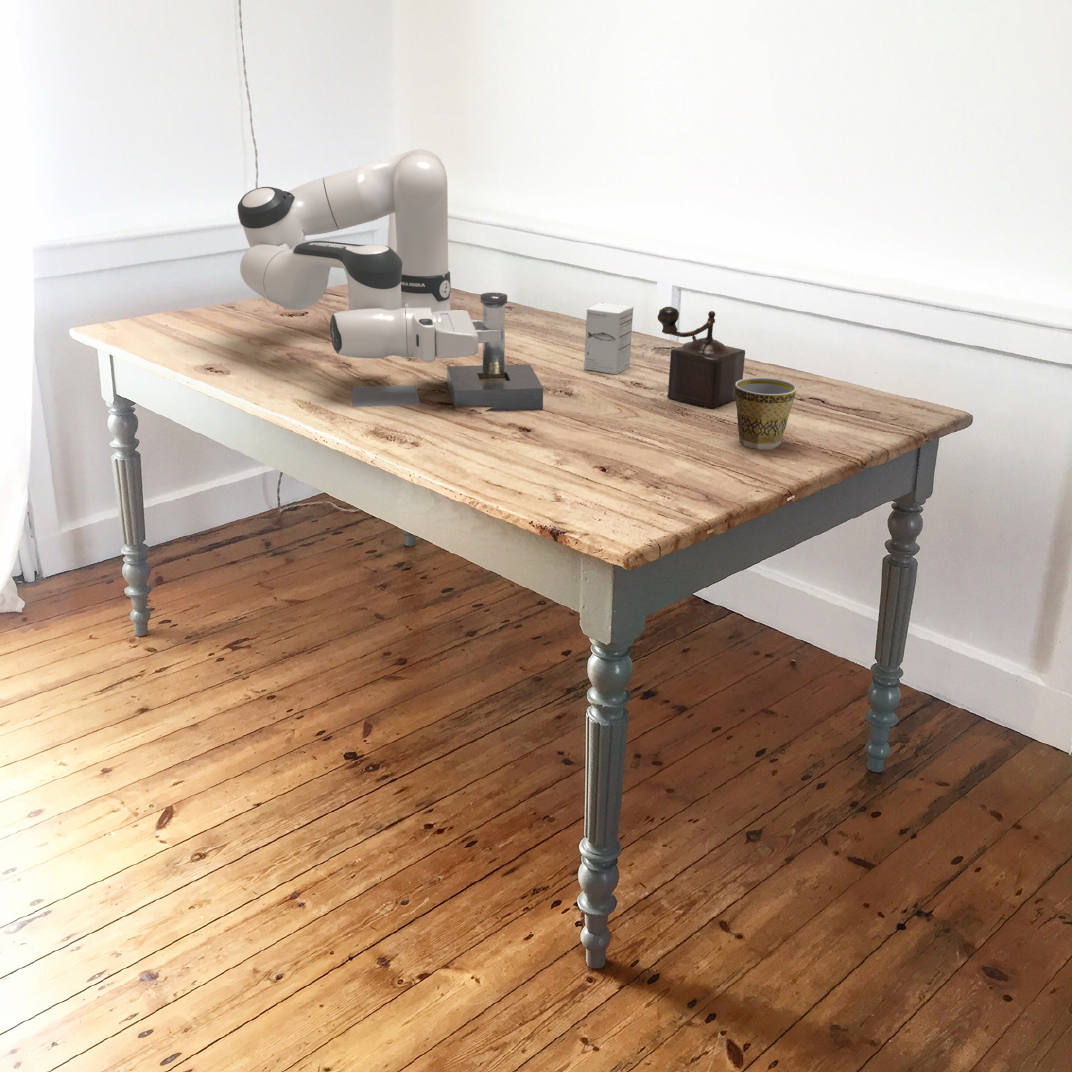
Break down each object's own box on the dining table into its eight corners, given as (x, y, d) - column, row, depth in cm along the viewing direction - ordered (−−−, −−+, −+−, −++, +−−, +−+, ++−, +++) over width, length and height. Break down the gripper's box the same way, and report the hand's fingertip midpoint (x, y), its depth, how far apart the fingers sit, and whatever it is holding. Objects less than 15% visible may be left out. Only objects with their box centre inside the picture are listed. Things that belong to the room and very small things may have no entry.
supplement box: (582, 370, 232) (585, 308, 227) (598, 362, 238) (600, 301, 233) (616, 375, 229) (619, 312, 224) (631, 367, 235) (634, 305, 230)
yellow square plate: (481, 391, 210) (481, 386, 210) (478, 383, 215) (478, 378, 215) (508, 390, 211) (508, 385, 211) (505, 383, 216) (505, 378, 215)
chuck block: (454, 412, 206) (454, 390, 204) (447, 386, 220) (446, 366, 218) (542, 409, 208) (543, 388, 206) (529, 384, 222) (530, 364, 221)
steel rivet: (475, 372, 211) (475, 295, 205) (490, 366, 214) (490, 291, 209) (497, 376, 208) (497, 299, 203) (511, 370, 212) (512, 294, 207)
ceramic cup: (797, 452, 189) (804, 394, 185) (738, 453, 188) (743, 395, 184) (774, 427, 201) (780, 372, 197) (718, 428, 200) (723, 372, 196)
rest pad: (352, 411, 205) (352, 406, 204) (352, 392, 215) (351, 387, 215) (420, 409, 206) (420, 404, 206) (416, 390, 217) (416, 385, 217)
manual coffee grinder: (693, 386, 223) (700, 293, 216) (742, 397, 217) (751, 303, 210) (647, 403, 212) (653, 307, 205) (697, 416, 206) (705, 317, 199)
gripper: (419, 335, 217) (491, 334, 219) (426, 364, 199) (505, 362, 201) (418, 302, 215) (491, 301, 217) (425, 328, 196) (505, 326, 198)
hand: (498, 330), depth 209 cm, fingers closed on steel rivet, 4 cm apart
